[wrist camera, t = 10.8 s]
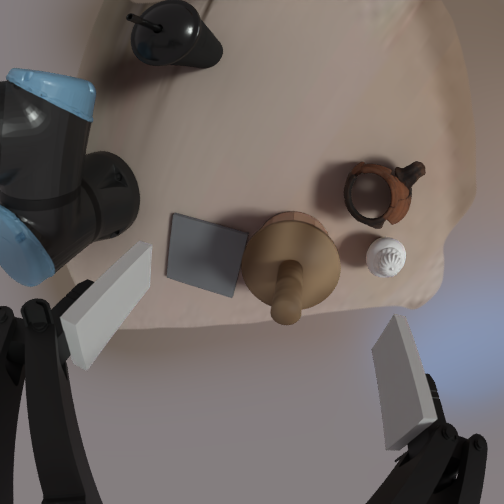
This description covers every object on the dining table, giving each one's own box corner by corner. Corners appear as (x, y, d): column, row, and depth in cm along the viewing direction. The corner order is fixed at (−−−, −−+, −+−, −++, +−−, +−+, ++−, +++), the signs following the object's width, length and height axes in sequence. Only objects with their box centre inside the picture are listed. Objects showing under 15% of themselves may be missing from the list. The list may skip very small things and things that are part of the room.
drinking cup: (183, 30, 32) (100, -10, 15) (235, 28, 31) (178, -29, 14) (178, 78, 36) (89, 65, 18) (230, 77, 35) (167, 52, 17)
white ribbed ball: (379, 220, 40) (392, 240, 34) (406, 243, 41) (421, 265, 35) (353, 251, 43) (360, 274, 37) (381, 271, 44) (391, 297, 38)
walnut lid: (234, 290, 43) (216, 338, 34) (255, 207, 37) (238, 241, 28) (320, 314, 42) (320, 366, 33) (354, 237, 36) (368, 279, 27)
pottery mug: (383, 233, 42) (366, 246, 36) (346, 184, 44) (323, 188, 38) (442, 186, 34) (438, 189, 28) (400, 133, 36) (387, 126, 30)
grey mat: (168, 275, 51) (166, 277, 50) (175, 212, 45) (173, 214, 45) (233, 295, 51) (232, 297, 50) (248, 233, 45) (247, 235, 44)
